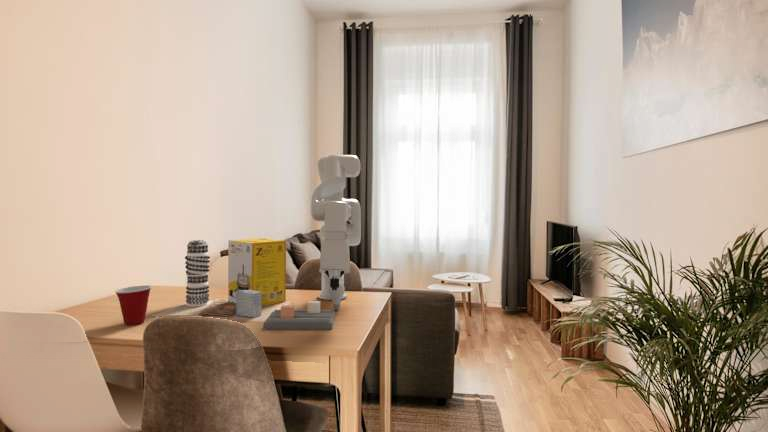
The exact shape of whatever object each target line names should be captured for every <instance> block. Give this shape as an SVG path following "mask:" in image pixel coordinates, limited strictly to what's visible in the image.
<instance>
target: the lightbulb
mask: <svg viewBox="0 0 768 432" xmlns="http://www.w3.org/2000/svg"><path fill="white" fill-rule="evenodd" d="M345 291H346V288H345V285H343V284H342V283H341V282H339V288H337V290H335V289H334V290H332V288H330V286H329V293H330V295H331V297H332V300H331V301H332V302H331V303H332V308H333V309H334V310H335V311H338V310H340V308H341V303H342V299H341V298H342V296H343V294H344V293H346V292H345ZM333 309H332V310H333Z"/></svg>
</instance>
